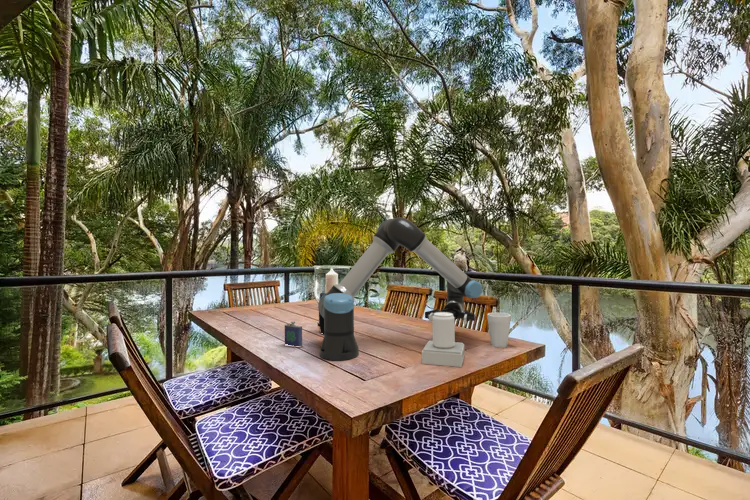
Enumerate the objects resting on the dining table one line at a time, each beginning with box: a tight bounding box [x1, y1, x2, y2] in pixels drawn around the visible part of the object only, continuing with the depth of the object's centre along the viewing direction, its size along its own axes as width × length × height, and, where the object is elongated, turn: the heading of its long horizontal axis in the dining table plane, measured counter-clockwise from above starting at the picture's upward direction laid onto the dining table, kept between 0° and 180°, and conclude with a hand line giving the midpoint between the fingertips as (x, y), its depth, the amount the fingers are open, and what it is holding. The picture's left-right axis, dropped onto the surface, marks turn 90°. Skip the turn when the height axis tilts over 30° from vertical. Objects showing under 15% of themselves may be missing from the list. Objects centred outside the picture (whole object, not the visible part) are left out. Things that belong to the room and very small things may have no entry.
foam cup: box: [486, 312, 512, 348], centre depth 156 cm, size 10×9×13 cm
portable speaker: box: [318, 292, 327, 335], centre depth 180 cm, size 9×9×20 cm
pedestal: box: [421, 340, 465, 368], centre depth 138 cm, size 14×14×5 cm
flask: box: [284, 321, 303, 347], centre depth 158 cm, size 9×3×11 cm, turn 61°
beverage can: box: [431, 312, 456, 348], centre depth 138 cm, size 8×8×12 cm
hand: (446, 320), depth 144 cm, fingers open, 13 cm apart
